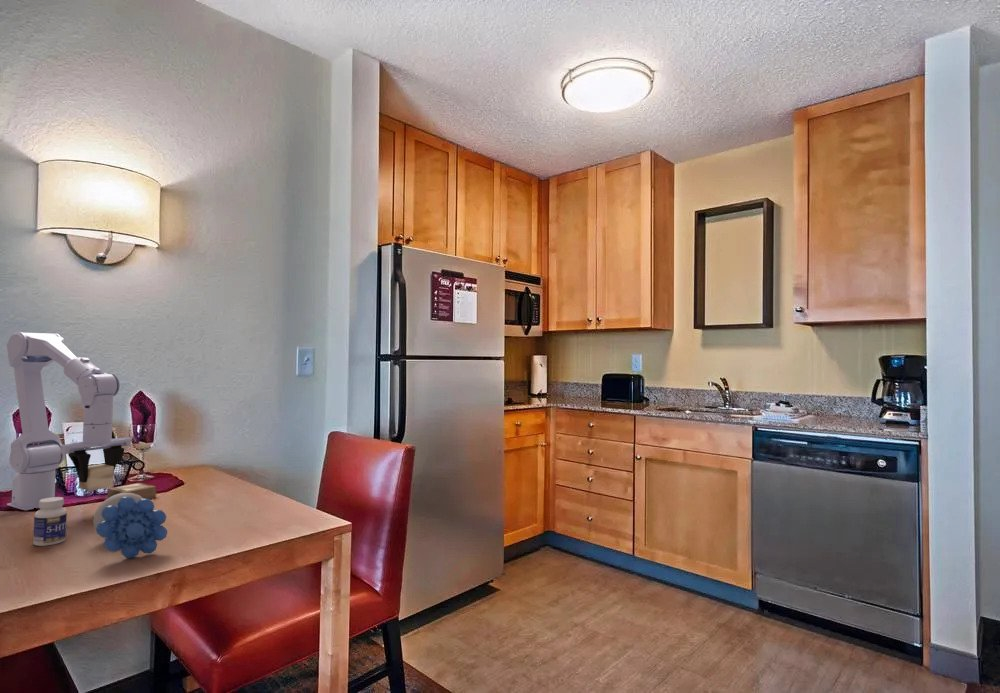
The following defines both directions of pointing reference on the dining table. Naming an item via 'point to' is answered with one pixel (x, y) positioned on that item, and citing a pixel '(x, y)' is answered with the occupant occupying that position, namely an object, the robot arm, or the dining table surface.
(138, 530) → the blue flower rosette
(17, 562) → the dining table surface
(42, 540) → the pill bottle
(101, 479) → the cube
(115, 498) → the donut
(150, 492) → the base
